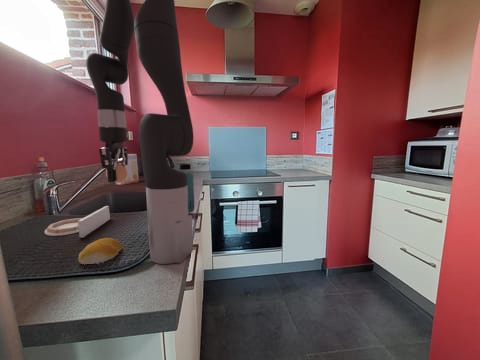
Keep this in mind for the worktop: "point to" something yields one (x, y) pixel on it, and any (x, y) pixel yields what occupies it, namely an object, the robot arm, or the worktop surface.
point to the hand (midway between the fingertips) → (117, 180)
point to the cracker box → (131, 170)
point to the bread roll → (99, 251)
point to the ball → (119, 173)
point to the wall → (93, 221)
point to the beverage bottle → (189, 186)
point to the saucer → (63, 227)
